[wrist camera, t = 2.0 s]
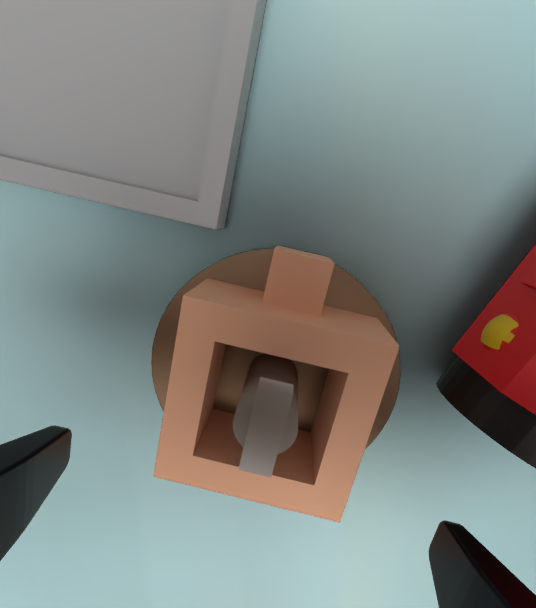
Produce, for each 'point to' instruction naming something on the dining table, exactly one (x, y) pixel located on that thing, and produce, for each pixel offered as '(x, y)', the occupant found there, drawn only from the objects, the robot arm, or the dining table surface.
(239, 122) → the tray
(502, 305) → the toy truck
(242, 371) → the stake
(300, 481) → the ring
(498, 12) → the dining table surface
